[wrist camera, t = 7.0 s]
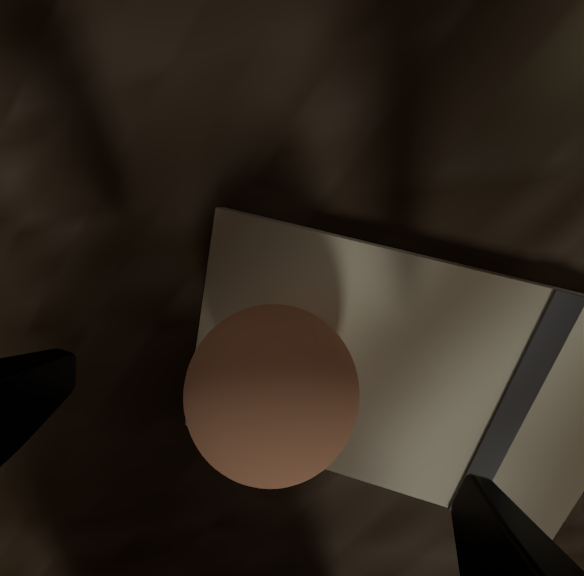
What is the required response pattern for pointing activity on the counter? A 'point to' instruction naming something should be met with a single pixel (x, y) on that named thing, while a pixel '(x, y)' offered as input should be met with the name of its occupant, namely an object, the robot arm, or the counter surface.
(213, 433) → the ball
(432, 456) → the board
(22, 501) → the counter surface
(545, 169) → the counter surface
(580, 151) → the counter surface
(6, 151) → the counter surface
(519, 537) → the robot arm
